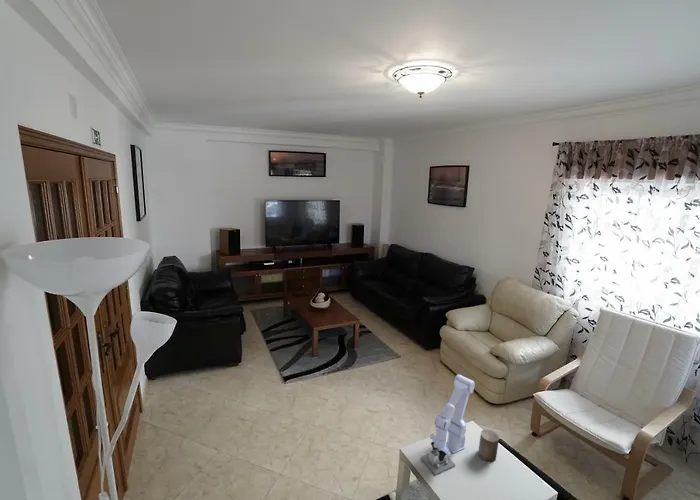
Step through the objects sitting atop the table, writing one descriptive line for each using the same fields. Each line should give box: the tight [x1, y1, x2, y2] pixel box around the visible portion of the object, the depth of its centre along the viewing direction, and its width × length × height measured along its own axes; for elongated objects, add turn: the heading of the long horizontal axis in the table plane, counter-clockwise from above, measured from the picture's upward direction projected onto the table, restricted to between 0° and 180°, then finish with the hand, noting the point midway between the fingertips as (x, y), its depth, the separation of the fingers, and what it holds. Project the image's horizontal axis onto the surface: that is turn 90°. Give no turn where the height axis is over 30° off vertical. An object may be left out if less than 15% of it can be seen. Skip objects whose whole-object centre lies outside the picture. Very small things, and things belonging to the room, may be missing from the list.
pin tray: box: [420, 453, 456, 476], centre depth 193 cm, size 14×12×3 cm
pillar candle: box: [477, 428, 500, 463], centre depth 198 cm, size 10×10×15 cm
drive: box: [428, 448, 449, 466], centre depth 193 cm, size 10×4×6 cm, turn 117°
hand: (438, 457), depth 193 cm, fingers closed on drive, 4 cm apart
